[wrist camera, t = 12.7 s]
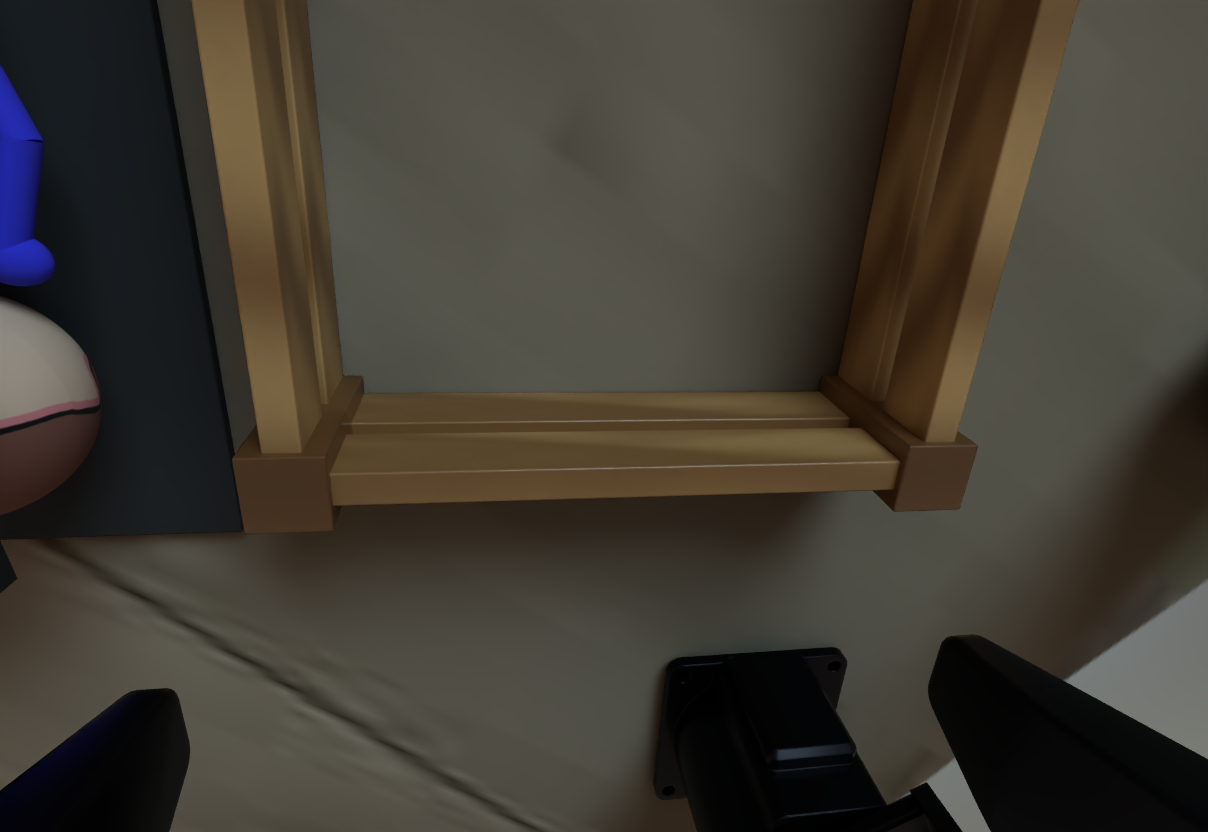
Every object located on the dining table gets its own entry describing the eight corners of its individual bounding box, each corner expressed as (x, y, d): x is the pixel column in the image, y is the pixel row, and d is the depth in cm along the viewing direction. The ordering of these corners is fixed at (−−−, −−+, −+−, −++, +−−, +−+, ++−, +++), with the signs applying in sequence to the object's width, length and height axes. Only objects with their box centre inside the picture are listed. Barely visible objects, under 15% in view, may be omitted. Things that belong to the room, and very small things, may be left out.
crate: (865, 429, 22) (960, 510, 17) (299, 437, 19) (243, 535, 15) (1083, -540, 13) (1365, -846, 9) (144, -764, 11) (-87, -1352, 6)
